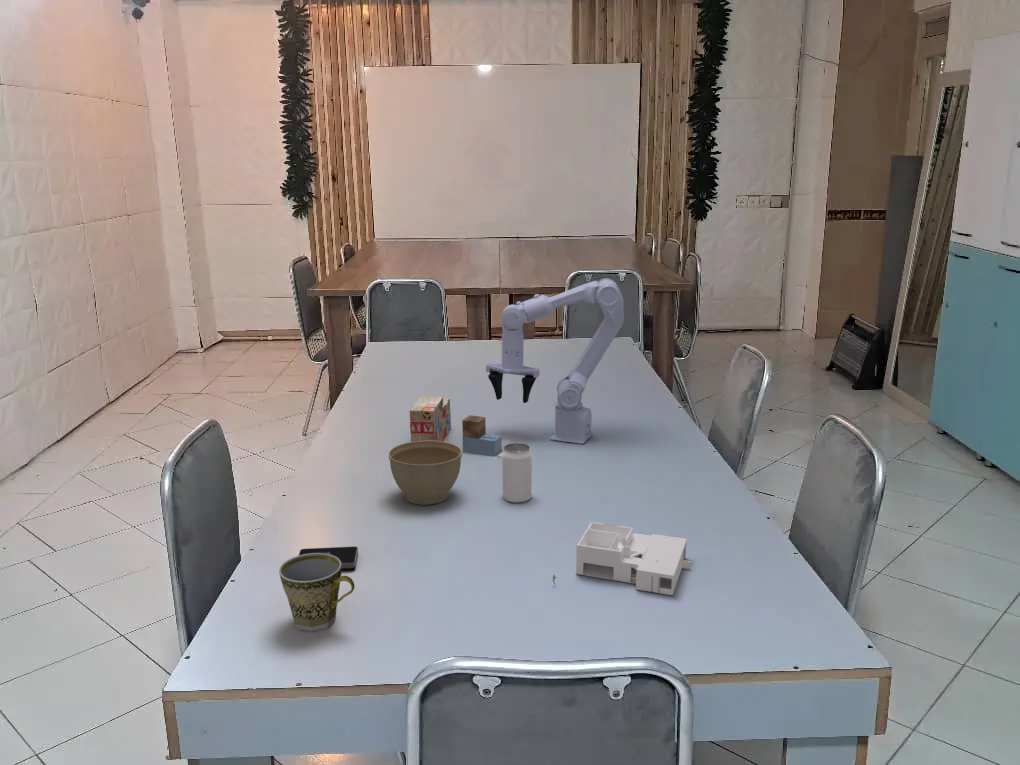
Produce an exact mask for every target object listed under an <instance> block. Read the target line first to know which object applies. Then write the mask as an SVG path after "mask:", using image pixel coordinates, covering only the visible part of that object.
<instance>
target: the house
mask: <svg viewBox="0 0 1020 765" xmlns="http://www.w3.org/2000/svg"><path fill="white" fill-rule="evenodd" d="M687 543H688V539H687V538H682V537H675V536H669V535H663V534H656V533H652V534H651V535H648V534H641V533H635V532H634V527H631V526H622V525H615V524H610V523H601V522H595V521H591V522H590V523H589V524H588V527H587V528H586V530H585V531H584V533H583V534H582V536H581V537H580V539H579V541H578V542H577V544H576V561H575V563H576V566H575V567H576V568H575V570H576V571H575V572H576V573H575V574H576V575H582V576H586V577H593V578H599V579H604V580H605V579H606V580H611V581H616V582H617V581H618V582H623V583H629V584H635V590H637V591H638V590H639V591H643V592H644V591H645V592H649V593H657V594H662V595H668V596H674V593H675V590H676V587H677V584H678V581H679V579H680V576H681V572H682V569H685V570H686V569H687V570H691V566H692V565H691V564H692V562H691V561H690V560H686V557H687ZM555 579H557V576H556V575H555V574H553V576H552V582H553V585H555V584H556V582H555Z"/></svg>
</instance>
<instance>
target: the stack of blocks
mask: <svg viewBox="0 0 1020 765" xmlns="http://www.w3.org/2000/svg"><path fill="white" fill-rule="evenodd" d="M451 417H452V416H451V398H450V397H443V396H419V398H418V399H417V401H416V402H415V403H414V405H413V406H412V407H411V408H410V409H409V429H410V442H415V441H429V440H430V441H442V442H445V439H446V438H445V437H447V436H448V435H449V433H450V432H451V429H452V422H451V421H452V420H451ZM449 431H450V432H449Z"/></svg>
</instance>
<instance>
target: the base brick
mask: <svg viewBox="0 0 1020 765" xmlns="http://www.w3.org/2000/svg"><path fill="white" fill-rule="evenodd" d="M502 438H503V437H502V435H498V434H491V433H486V434H484V435H483V436H482V437H481V438H479V439H475V438H467V437H463V436H462V453H469V454H470V453H471V454H476V453H477V454H479V455H484V456H491V457H496V456H497V455H498V454H499V453H500V452H502V451H501V450H502V449H503V448H502V445H503V443H502V442H503V441H502Z"/></svg>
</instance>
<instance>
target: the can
mask: <svg viewBox="0 0 1020 765" xmlns="http://www.w3.org/2000/svg"><path fill="white" fill-rule="evenodd" d="M502 452H503V455H502V457H501V459H502V470H501V471H502V475H501V476H502V478H501V479H502V498H503V500H505V501H506V502H509V503H514V504H521V503H525V502H528V501H529V500H530V499H531V498H532V488H533V487H532V483H533V482H532V478H533V476H532V475H533V474H532V470H533V469H532V467H533V465H532V464H533V463H532V461H533V460H532V457H533V456H532V452H531V449H530V446H529V445H528V444H526V443H520V442H514V443H508V444H506V445H505V446H504V447H503V451H502Z"/></svg>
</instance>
